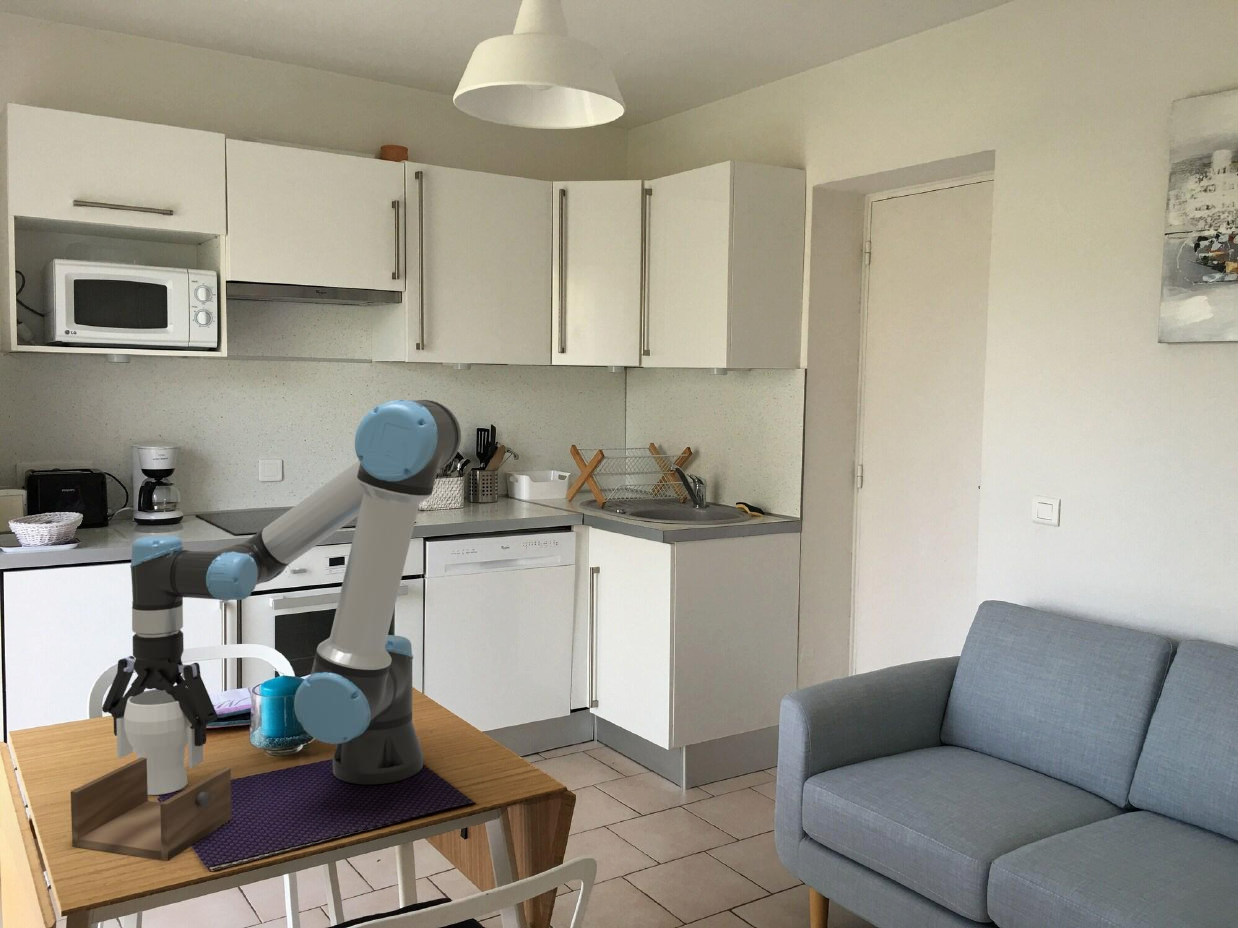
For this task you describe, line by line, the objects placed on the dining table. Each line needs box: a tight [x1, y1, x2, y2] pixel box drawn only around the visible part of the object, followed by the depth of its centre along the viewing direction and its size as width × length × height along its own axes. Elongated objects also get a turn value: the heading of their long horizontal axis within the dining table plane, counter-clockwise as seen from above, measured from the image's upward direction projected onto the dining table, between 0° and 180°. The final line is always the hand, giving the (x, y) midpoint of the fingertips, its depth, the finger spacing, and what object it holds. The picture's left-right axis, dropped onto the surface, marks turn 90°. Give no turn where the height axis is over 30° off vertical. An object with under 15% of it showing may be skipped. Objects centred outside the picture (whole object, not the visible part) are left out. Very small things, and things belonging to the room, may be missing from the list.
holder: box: [70, 757, 233, 862], centre depth 149 cm, size 18×14×8 cm
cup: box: [124, 689, 192, 796], centre depth 166 cm, size 11×11×15 cm
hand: (160, 759), depth 166 cm, fingers open, 13 cm apart
